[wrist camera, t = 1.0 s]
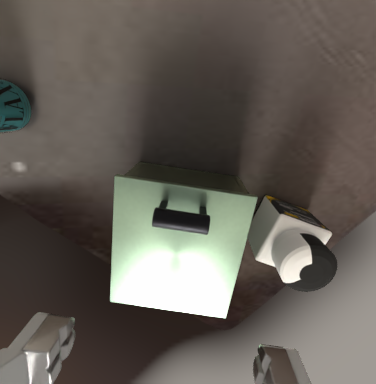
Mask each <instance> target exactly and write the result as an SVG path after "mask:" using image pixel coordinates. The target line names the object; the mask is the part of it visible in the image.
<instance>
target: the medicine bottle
mask: <svg viewBox="0 0 376 384" xmlns="http://www.w3.org/2000/svg"><path fill="white" fill-rule="evenodd" d="M331 235H332V233H331V231H330V230H328V229H327V228H326V227H325V226H324V225H323V224H322V223H321V222H320V221H319V220H318V219H316V218H315V217H314V216H313V215H312V214H311V213H310V212H309V211H308V210H306V209H303V208H300V207H298V206H295V205H292V204H289V203H287V202H284V201H281V200H279V199H276V198H273V197H270V196H268V195H266V196H265V197H264V199H263V201H262V202H261V204H260V206H259V208H258V210H257V212H256V214H255V216H254V218H253V220H252V222H251V225H250V229H249V233H248V237H247V238H248V240H249V243H250V246H251V248H252V251H253V253H254V256H255V259H256V260H257V261H260V262H262V263H265V264H268V265H271V266H274V267H276V269H277V271H278V273H279V275H280V277H281V279H282V280H283V282H284V283H285V284H286V285H287V286H288V287H290V288H292V289H294V290H298V291H305V292H308V291H315V290H318V289H320V288H322V287H324V286H326V285H327V284H328V283H329V282H330V281H331V280H332V279H333V277H334V276H335V273H336V270H337V260H336V258H335V256H334V254H333V253H332V252H331V251H330V250H329V249H328V248H327V247H326V246H325V244H326V243H327V241H328V240H329V238H330V237H331Z"/></svg>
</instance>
